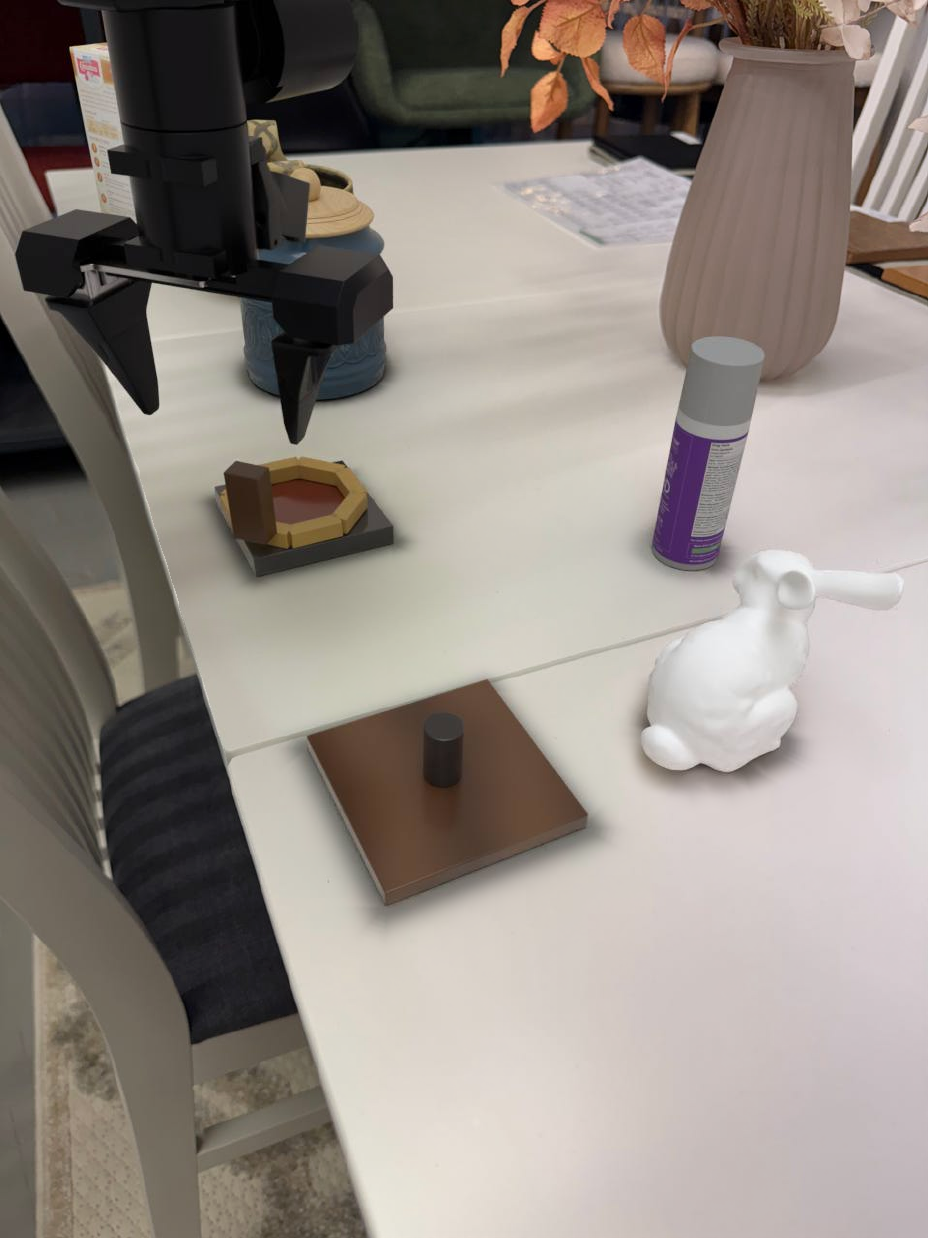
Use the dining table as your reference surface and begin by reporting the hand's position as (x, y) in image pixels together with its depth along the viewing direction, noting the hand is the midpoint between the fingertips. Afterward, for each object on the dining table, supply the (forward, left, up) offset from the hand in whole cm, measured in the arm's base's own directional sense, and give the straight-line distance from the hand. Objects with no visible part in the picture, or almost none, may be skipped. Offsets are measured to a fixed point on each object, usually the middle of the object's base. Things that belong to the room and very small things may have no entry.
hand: (223, 426), depth 54 cm
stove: (+6, +7, -13) cm, 16 cm away
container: (+30, -7, -13) cm, 33 cm away
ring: (+6, +7, -11) cm, 14 cm away
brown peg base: (+5, -19, -13) cm, 24 cm away
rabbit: (+22, -22, -13) cm, 33 cm away
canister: (+16, +31, -13) cm, 37 cm away
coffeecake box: (+12, +78, -13) cm, 80 cm away
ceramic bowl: (+20, +54, -13) cm, 59 cm away
